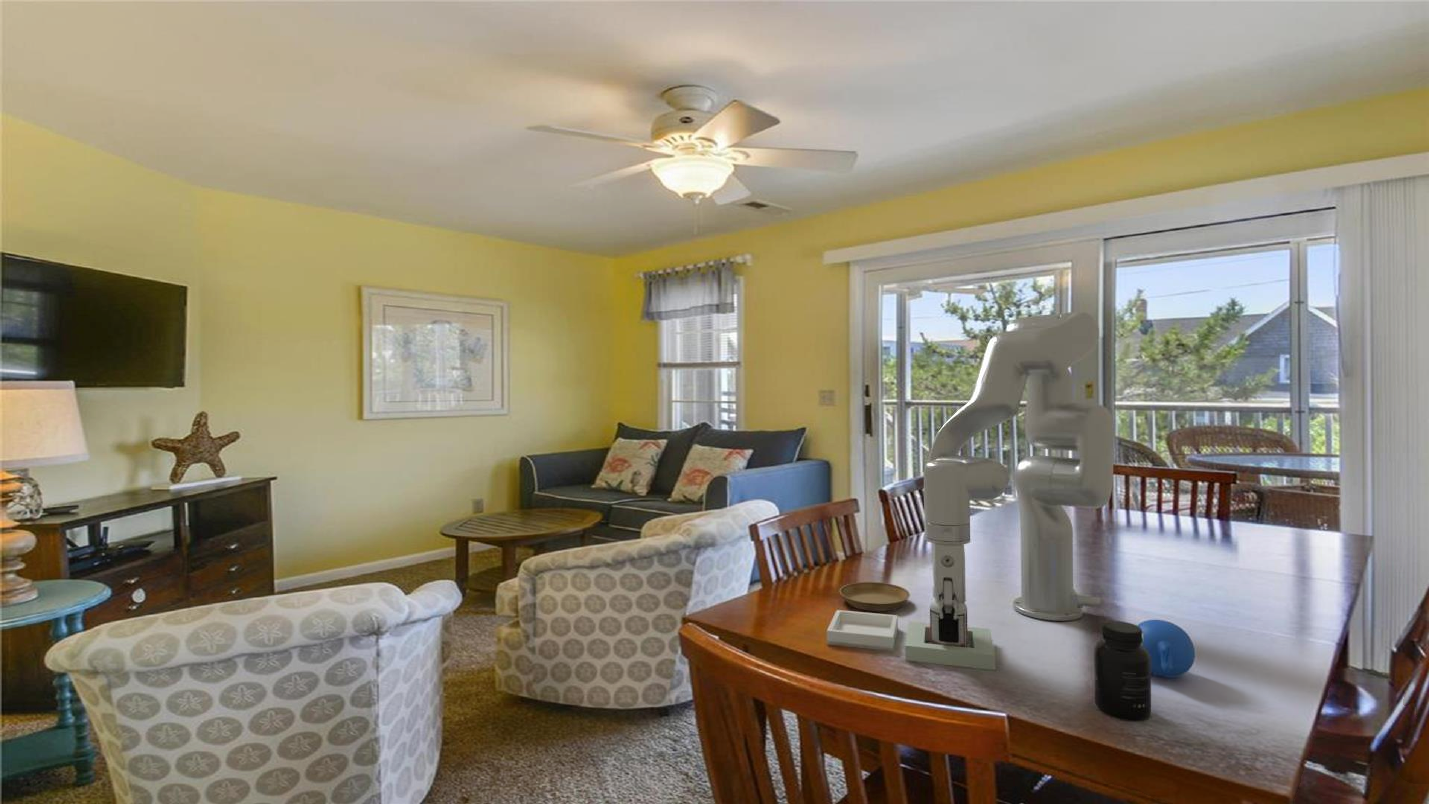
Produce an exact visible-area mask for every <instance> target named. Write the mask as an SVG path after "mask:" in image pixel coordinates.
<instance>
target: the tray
mask: <svg viewBox="0 0 1429 804" xmlns="http://www.w3.org/2000/svg"><path fill="white" fill-rule="evenodd" d="M898 620H899V618H898V615H895V614H885V613H876V612H875V613H873V612H863V611H853V610H844V609H842V610H841V609H837V610H836V611H835V613H834V615H833V617H832V619H831V621H830V623H829V625H828V627H827V630H826V645H830V646H837V647H838V646H839V647H849V648H856V647H857V648H859V649H866V648H867V650H877V651H884V650H886V651H887V652H894V651H895V644H896V640H897V634H898V630H899V622H898Z"/></svg>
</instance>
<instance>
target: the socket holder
mask: <svg viewBox="0 0 1429 804" xmlns="http://www.w3.org/2000/svg"><path fill="white" fill-rule="evenodd" d="M967 636H968V646H972V647H968V648H967V647H957V646H947V645H938V644H930V643H927V642H926V641H928V642H930V622H929V623H928V622H927V623H926V622H919V621H918V622H917V621H908V625H907V630H906V637H905V642H904V643H905V644H904V652H905V653H904V655H905V656H904V657H905V658H904V660H905V661H910V662H918V663H926V664H927V663H928V664H936V665H947V666H953V667H962V668H969V669H970V668H973V669H979V670H989V671H996V654H995V649H994V643H993V639H992V633H991V629H990V628H983V627H981V628H980V627H973V626H967Z"/></svg>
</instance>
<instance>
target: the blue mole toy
mask: <svg viewBox="0 0 1429 804" xmlns="http://www.w3.org/2000/svg"><path fill="white" fill-rule="evenodd" d="M1136 626H1138V627H1140V628H1141V629H1142V638H1143V643H1142V644H1141V646H1143V647H1144V648H1145V649H1146V650H1147V651H1148V652H1149V654H1150V657H1151V675H1152V674H1153V675H1155V676H1159V677H1162V678H1176V677H1179V676H1182V675H1185V674H1186V673H1188V672H1189V671H1190V670H1191V668H1192V667H1193V664H1194V663H1195V657H1196V653H1195V647H1194V643H1193V641H1192V639H1191V637H1190V636H1189V634H1188V633H1187V632H1186V631H1185V630H1184V629H1183V628H1181V627H1180V626H1179V625H1177V624H1175V623H1174V622H1170V621H1168V620H1163V619H1148V620H1144V621H1142V622H1140V623H1138V624H1137V625H1136Z"/></svg>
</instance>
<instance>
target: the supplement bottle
mask: <svg viewBox="0 0 1429 804" xmlns="http://www.w3.org/2000/svg"><path fill="white" fill-rule="evenodd" d="M1101 638H1102V639H1101V640H1099V641H1097V643H1096V644H1095V645H1094V650H1093V657H1094V658H1093V661H1094V663H1093V665H1094V667H1093V670H1094V671H1093V673H1094V681H1093V682H1094V685H1093V686H1094V703H1095V706H1096V707H1097V708H1098V709H1099V710H1100V711H1101V712H1103V713H1104V714H1106V715H1108V716H1110V717H1112V718H1115V719H1119V720H1123V721H1130V722H1140V721H1145V720H1147V719H1148V718H1149V717H1150V716H1151V714H1152V673H1151V657H1150V654H1149V652H1148V651H1147V650H1146V649H1145V648H1144V647H1143V646H1141V644H1142V643H1143V638H1142V629H1141V628H1140V627H1138V626H1137V625H1136V624H1134V623H1131V622H1126V621H1122V620H1121V621H1120V620H1106V621H1103V623H1102V624H1101Z"/></svg>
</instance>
